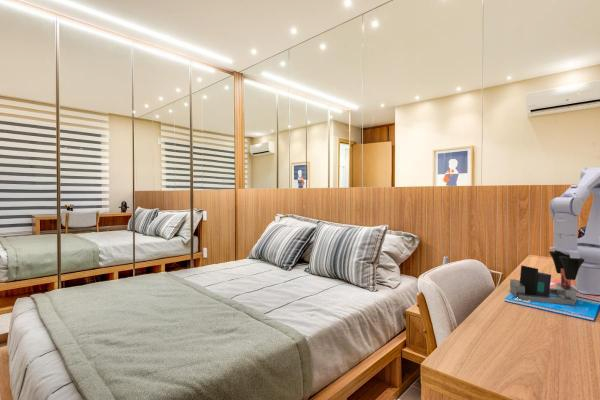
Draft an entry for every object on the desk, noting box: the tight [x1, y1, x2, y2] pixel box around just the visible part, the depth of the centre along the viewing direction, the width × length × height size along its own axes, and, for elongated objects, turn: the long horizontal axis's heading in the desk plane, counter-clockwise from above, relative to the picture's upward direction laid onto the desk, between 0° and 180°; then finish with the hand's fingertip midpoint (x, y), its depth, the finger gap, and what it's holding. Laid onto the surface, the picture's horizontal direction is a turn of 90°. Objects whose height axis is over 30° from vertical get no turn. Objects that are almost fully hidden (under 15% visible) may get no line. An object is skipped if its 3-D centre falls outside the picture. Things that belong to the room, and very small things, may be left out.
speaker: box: [519, 264, 552, 297], centre depth 100 cm, size 8×6×10 cm
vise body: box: [509, 278, 576, 306], centre depth 100 cm, size 14×12×4 cm
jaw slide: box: [555, 268, 577, 304], centre depth 97 cm, size 3×8×10 cm, turn 156°
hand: (565, 276), depth 97 cm, fingers open, 7 cm apart
